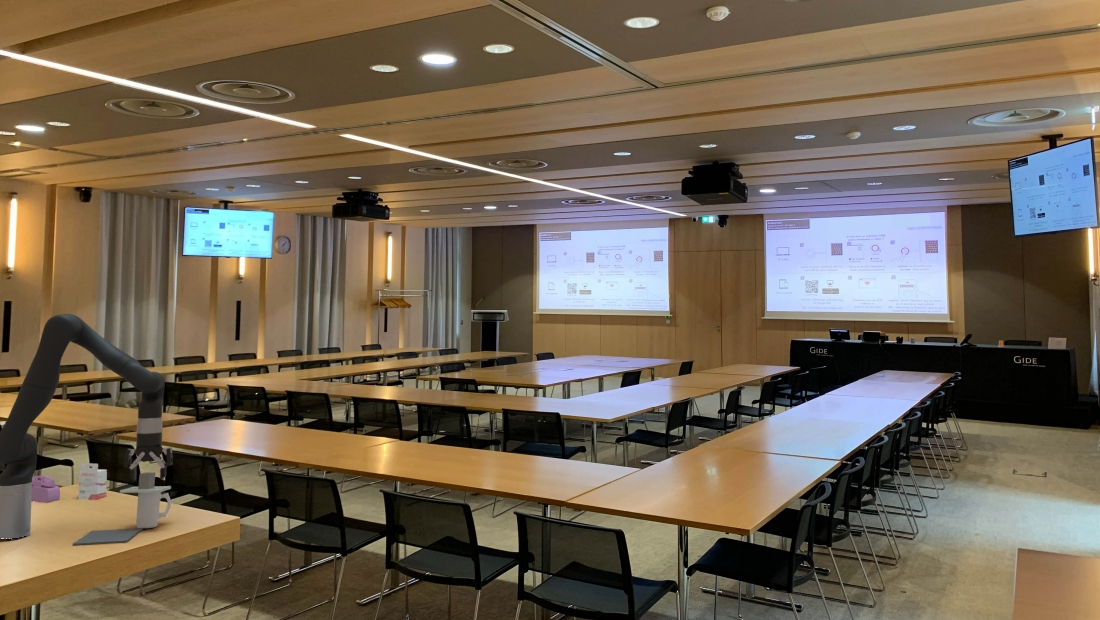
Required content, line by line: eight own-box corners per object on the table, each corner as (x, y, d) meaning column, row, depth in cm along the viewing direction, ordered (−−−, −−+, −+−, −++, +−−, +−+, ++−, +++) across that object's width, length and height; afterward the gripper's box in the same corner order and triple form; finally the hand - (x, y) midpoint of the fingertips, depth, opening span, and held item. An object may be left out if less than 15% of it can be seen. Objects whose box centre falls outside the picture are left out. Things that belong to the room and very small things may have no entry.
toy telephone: (61, 501, 275) (62, 475, 275) (45, 504, 269) (46, 478, 269) (29, 497, 281) (30, 472, 281) (13, 501, 275) (14, 475, 275)
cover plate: (119, 492, 229) (121, 474, 230) (132, 489, 241) (134, 471, 241) (159, 492, 232) (161, 474, 232) (170, 488, 243) (172, 471, 244)
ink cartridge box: (106, 499, 278) (108, 461, 279) (96, 502, 273) (98, 463, 274) (88, 498, 279) (89, 461, 280) (77, 501, 274) (78, 463, 275)
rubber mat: (72, 545, 215) (72, 543, 215) (91, 532, 230) (92, 530, 230) (126, 542, 219) (126, 540, 219) (142, 529, 233) (142, 528, 233)
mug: (134, 529, 231) (138, 491, 233) (134, 526, 237) (138, 489, 239) (169, 526, 236) (172, 490, 238) (168, 524, 242) (171, 488, 244)
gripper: (122, 433, 232) (120, 482, 231) (169, 431, 235) (168, 480, 234) (129, 430, 239) (128, 478, 238) (175, 429, 242) (174, 476, 242)
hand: (148, 479), depth 236 cm, fingers open, 8 cm apart
